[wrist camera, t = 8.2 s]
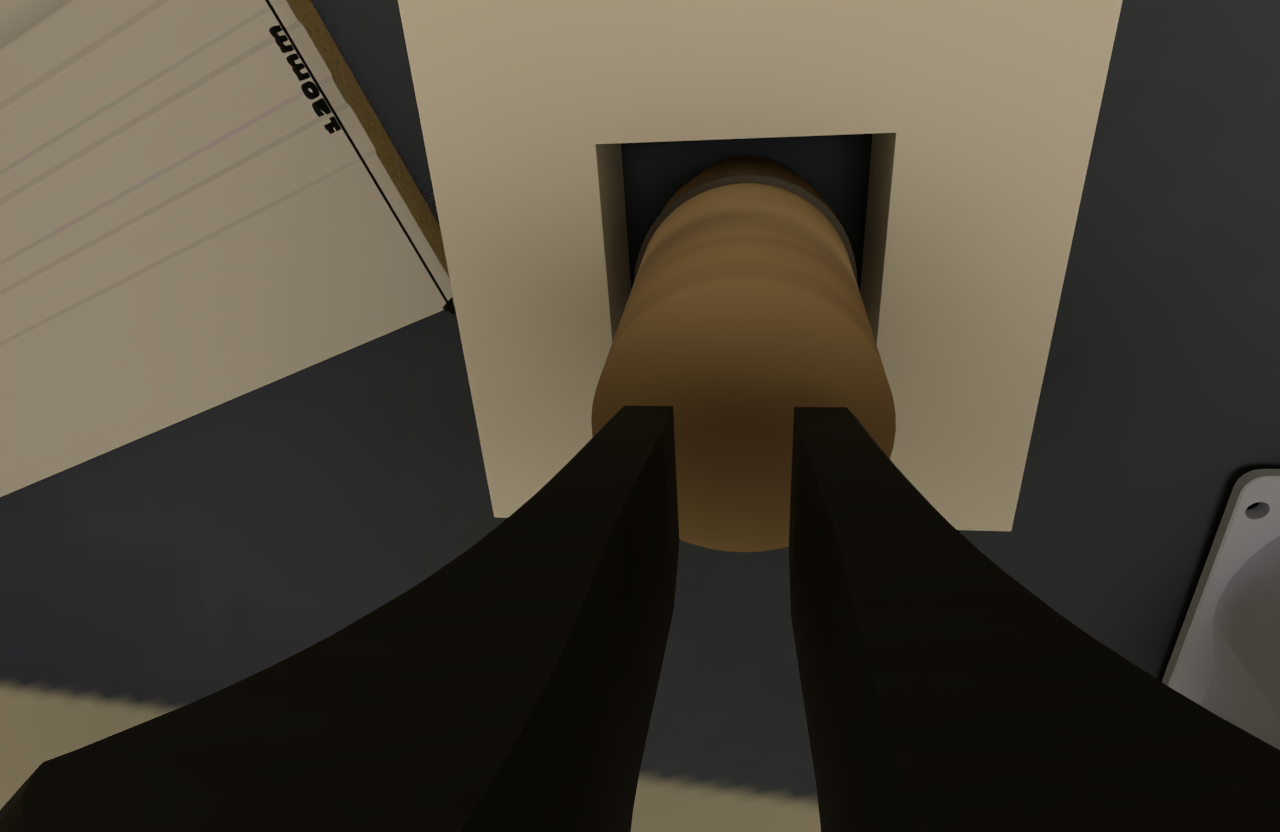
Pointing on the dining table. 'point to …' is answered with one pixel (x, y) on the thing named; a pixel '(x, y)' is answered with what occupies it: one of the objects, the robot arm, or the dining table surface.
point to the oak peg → (744, 344)
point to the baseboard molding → (186, 217)
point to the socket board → (762, 108)
